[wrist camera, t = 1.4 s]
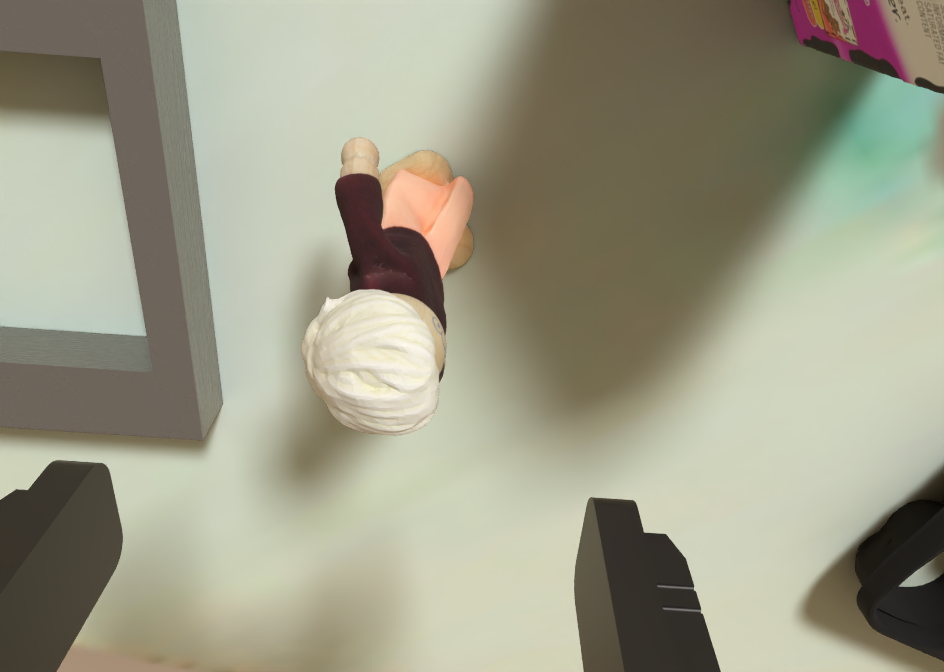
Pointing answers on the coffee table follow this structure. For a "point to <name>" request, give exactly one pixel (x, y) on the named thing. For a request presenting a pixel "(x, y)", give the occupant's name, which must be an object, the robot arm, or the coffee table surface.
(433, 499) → the coffee table surface
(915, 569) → the egg carton
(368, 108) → the coffee table surface
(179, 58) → the holder board
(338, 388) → the grandmother figurine
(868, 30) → the candy bar box
